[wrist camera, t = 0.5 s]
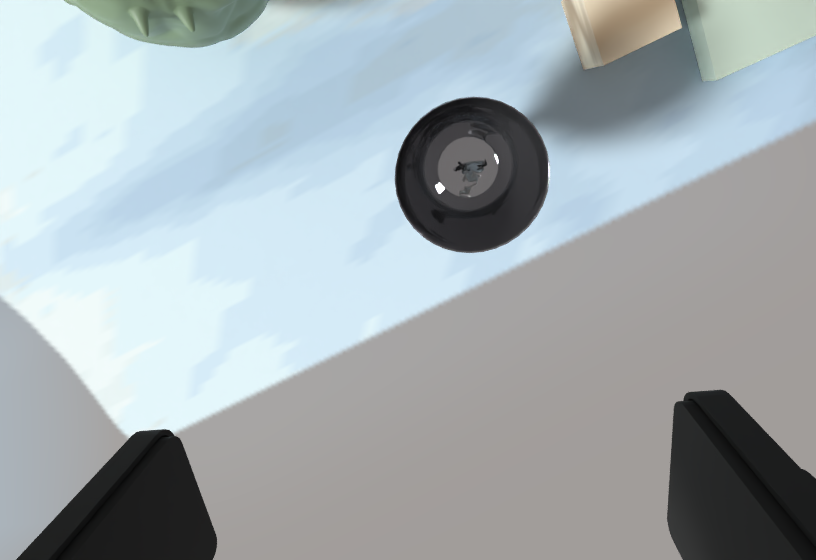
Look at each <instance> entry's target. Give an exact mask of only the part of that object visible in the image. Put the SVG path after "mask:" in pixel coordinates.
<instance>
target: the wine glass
mask: <svg viewBox="0 0 816 560" xmlns="http://www.w3.org/2000/svg"><path fill="white" fill-rule="evenodd" d="M549 180H550V164H549V159H548V154H547V150H546V147H545V145H544V142H543V140H542V137H541V136H540V134H539V133H538V131H537V129H536V128H535V126H534V125H533V124H532V123H531V122H530V121H529V120H528V119H527V118H526V117H525V116H524V115H523V114H522V113H520V112H519V111H518V110H516V109H515V108H513V107H512V106H509V105H507V104H505V103H503V102H501V101H498V100H494V99H490V98H484V97H465V98H458V99H454V100H451V101H448V102H445V103H443V104H441V105H439V106H437V107H435V108H433V109H432V110H431V111H429V112H428V113H427V114H425V115H424V116H423V117H422V118H421V119H420V120H419V121H418V122H417V123H416V124H415V125H414V126H413V127H412V129H411V130H410V132H409V133H408V135H407V136H406V138H405V140H404V142H403V144H402V146H401V149H400V151H399V154H398V159H397V163H396V169H395V186H396V194H397V197H398V200H399V204H400V207H401V209H402V211H403V213H404V215H405V217H406V218H407V220H408V221H409V222H410V224H411V225H412V226H413V228H414V229H415V230H416V231H417V232H418V233H419V234H421V235H422V236H423V237H424V238H426V239H427V240H429V241H430V242H432V243H433V244H435V245H437V246H440V247H442V248H444V249H448V250H452V251H456V252H464V253H475V252H484V251H488V250H492V249H496V248H498V247H500V246H502V245H505V244H507V243H509V242H510V241H512V240H513V239H515V238H516V237H518V236H519V235H520V234H521V233H522V232H523V231H525V230H526V229H527V228H528V227H529V226H530V224H531V223H532V222H533V220H534V219H535V218H536V217H537V215H538V213H539V211H540V209H541V208H542V206H543V203H544V201H545V198H546V195H547V192H548V186H549Z"/></svg>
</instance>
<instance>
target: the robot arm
mask: <svg viewBox="0 0 816 560" xmlns="http://www.w3.org/2000/svg"><path fill="white" fill-rule="evenodd" d="M667 521H668V526H669V531H670V534H671V537H672V539H673V541H674V543H675V545H676V547H677V549H678V551H679V553H680V555H681V557H682V559H683V560H816V479H815V478H814V477H813V476H812V475H811V474H810V473H808V472H807V471H805V470H803V469H801V468H800V467H799V466H798V465H797V464H796V463H795V462H794V461H793V460H792V459H791V458H790V457H789V456H788V455H787V454H786V453H785V452H784V450H782V448H781V447H780V446H779V445H778V444H777V443H776V442H775V441H774V440H773V439H772V438H771V437H770V436H769V435H768V434H767V433H766V432H765V431H764V430H763V429H762V427H761V426H760V425H759V424H758V423H757V422H756V421H755V420H754V419H753V418H752V417H751V416H750V415H749V414H748V413H747V412H746V411H745V410H744V409H743V408H742V407H741V406H740V404H738V402H737V401H736V400H735V399H734V398H733V397H732V396H731V395H730V394H729V393H727V392H726V391H724V390H714V391H699V392H689V393H686V395H685V396H684V401H679V402H676V403H675V406H674V416H673V432H672V449H671V464H670V481H669V496H668V513H667ZM216 548H217V537H216V534H215V531H214V528H213V526H212V523H211V520H210V517H209V515H208V512H207V509H206V507H205V504H204V501H203V499H202V496H201V493H200V490H199V487H198V485H197V482H196V480H195V477H194V474H193V472H192V469H191V466H190V464H189V460H188V458H187V455H186V452H185V450H184V447H183V444H182V442H181V440H180V438H178V437H176V436H174V435H173V433H172V432H171V431H170V430H166V429H163V430H149V431H139V432H136V433H135V434H134V435H132V436H131V437H130V438H129V439H128V441H127V442H126V443H125V444H124V445H123V446H122V447H121V448H120V449H119V450H118V451H117V452H116V453H115V454H114V456H113V457H112V458H111V459H110V460H109V461H108V462H107V463H106V464H105V465H104V466H103V467H102V468H101V470H99V472H98V473H97V474H96V475H95V476H94V477H93V478H92V479H91V480H90V481H89V482H88V483H87V484H86V485H85V487H84V488H83V489H82V490H81V491H80V492H79V493H78V494H77V495H76V496H75V497H74V498H73V499H72V500H71V502H70V503H69V504H68V505H67V506H66V507H65V508H64V509H63V510H62V511H61V512H60V513H59V514H58V515H57V517H56V518H55V519H54V520H53V521H52V522H51V523H50V524H49V525H48V526H47V527H46V528H45V529H44V530H43V531H42V533H41V534H40V535H39V536H38V537H37V538H36V539H35V540H34V541H33V542H32V543H31V544H30V545H29V546H28V548H27V549H26V550H25V551H24V552H23V553H22V554H21V555H20V556H19V557H18V558H17V559H16V560H213V558H214V555H215V552H216Z"/></svg>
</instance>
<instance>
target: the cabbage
mask: <svg viewBox="0 0 816 560" xmlns="http://www.w3.org/2000/svg"><path fill="white" fill-rule="evenodd" d="M64 1H65V2H67V3H68V4H70V5H74V6H77V7H78V8H79V9H81V10H82V11H83V12H85V13H86V14H88V15H89V16H91V17H92V18H94V19H96V20H97V21H99V22H101V23H103V24H105V25H107V26H109V27H111V28H113V29H115V30H116V31H118V32H120V33H122V34H123V35H126V36H128V37H130V38H133V39H136V40H139V41H142V42H147V43H152V44H159V45H166V46H177V47H188V48H198V47H205V46H210V45H213V44H216V43H218V42H220V41H223V40H228V39H230V38H233V37H235V36H236V35H238V34H240V33H241V32H243V31H244V30H245V29H247V28H248V27H249V26H250V25H251V24H252V23H253V22H254V21H255V20H256V19H257V18H258V17H259V16H260V15H261V14H262V12H263V11H264V9H265V7H266V5H267V3H268V1H269V0H64Z"/></svg>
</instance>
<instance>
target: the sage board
mask: <svg viewBox="0 0 816 560" xmlns="http://www.w3.org/2000/svg"><path fill="white" fill-rule="evenodd" d="M681 1H682V5H683V9H684V12H685V16H686V20H687V24H688V28H689V32H690V35H691V39H692V43H693V47H694V51H695V55H696V59H697V62H698V66H699V70H700V74H701V78H702V81H715V80H719V79H721V78H723V77H725V76H727V75H730V74H732V73H734V72H736V71H738V70H741V69H743V68H745V67H747V66H750V65H752V64H754V63H756V62H758V61H761V60H763V59H765V58H767V57H769V56H772V55H774V54H776V53H778V52H780V51H783V50H785V49H787V48H789V47H791V46H794V45H796V44H798V43H800V42H802V41H805V40H807V39H809V38H811V37H813V36H816V0H681Z"/></svg>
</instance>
